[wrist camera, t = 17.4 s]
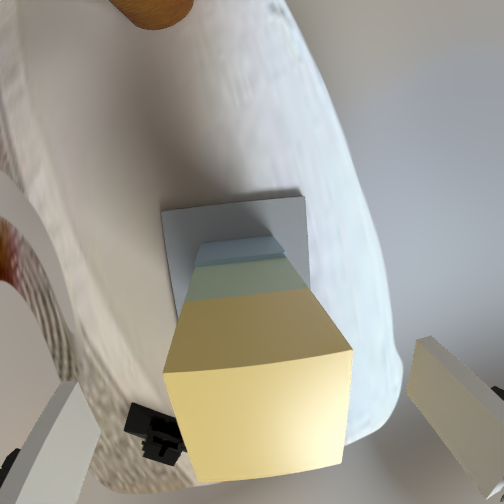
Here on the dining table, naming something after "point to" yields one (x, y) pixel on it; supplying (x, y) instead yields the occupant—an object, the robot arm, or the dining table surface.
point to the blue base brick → (239, 251)
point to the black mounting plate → (156, 434)
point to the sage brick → (243, 279)
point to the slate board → (233, 234)
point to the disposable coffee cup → (154, 12)
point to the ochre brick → (259, 385)
